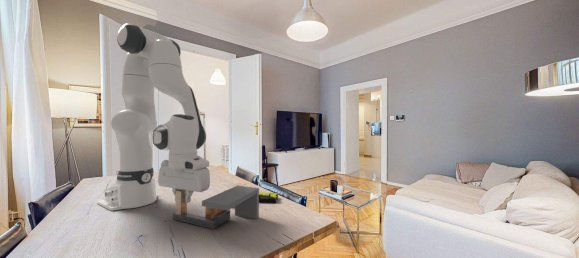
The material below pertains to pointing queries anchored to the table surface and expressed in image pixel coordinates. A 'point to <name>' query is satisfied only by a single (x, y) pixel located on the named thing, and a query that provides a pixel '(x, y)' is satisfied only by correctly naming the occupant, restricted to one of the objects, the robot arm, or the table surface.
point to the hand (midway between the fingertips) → (182, 201)
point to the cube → (211, 212)
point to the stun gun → (267, 197)
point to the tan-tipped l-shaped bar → (195, 219)
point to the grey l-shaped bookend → (237, 201)
